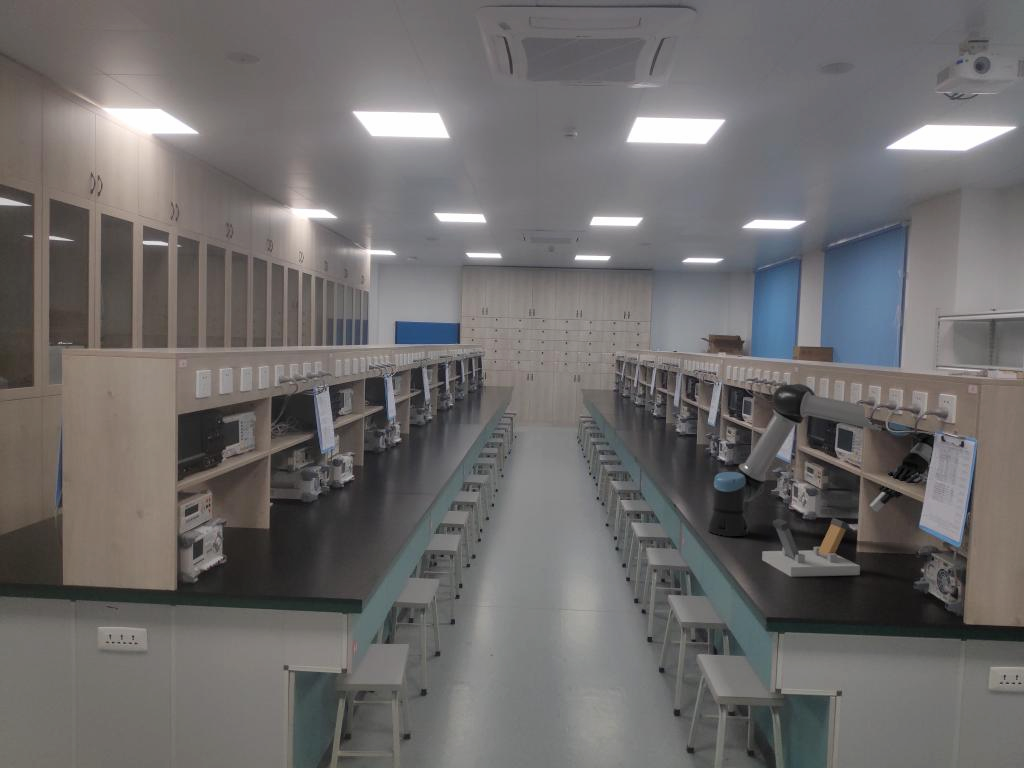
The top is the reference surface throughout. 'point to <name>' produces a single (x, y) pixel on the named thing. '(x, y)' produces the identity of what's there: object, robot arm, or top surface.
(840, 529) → the orange lever
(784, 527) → the grey lever
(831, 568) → the control panel
